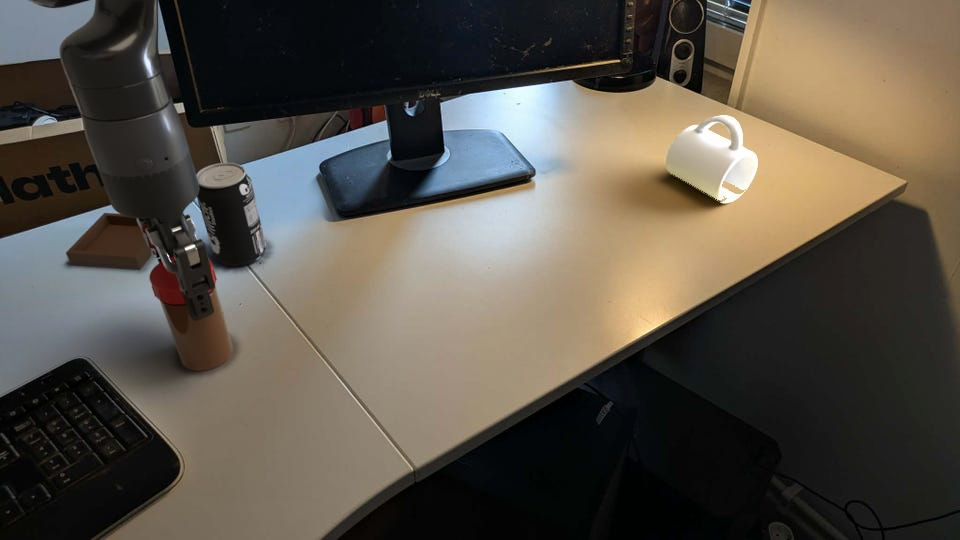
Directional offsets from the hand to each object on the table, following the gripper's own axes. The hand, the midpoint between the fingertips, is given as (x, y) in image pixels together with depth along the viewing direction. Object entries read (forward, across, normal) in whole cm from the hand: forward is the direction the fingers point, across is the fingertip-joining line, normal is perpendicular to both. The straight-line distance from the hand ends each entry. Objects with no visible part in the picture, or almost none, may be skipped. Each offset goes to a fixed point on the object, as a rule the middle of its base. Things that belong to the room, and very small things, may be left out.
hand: (190, 299), depth 68 cm
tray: (+8, +26, +1) cm, 27 cm away
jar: (+8, 0, 0) cm, 8 cm away
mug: (+7, -14, -73) cm, 74 cm away
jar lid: (-3, 0, 0) cm, 3 cm away
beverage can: (+8, +15, -11) cm, 20 cm away
